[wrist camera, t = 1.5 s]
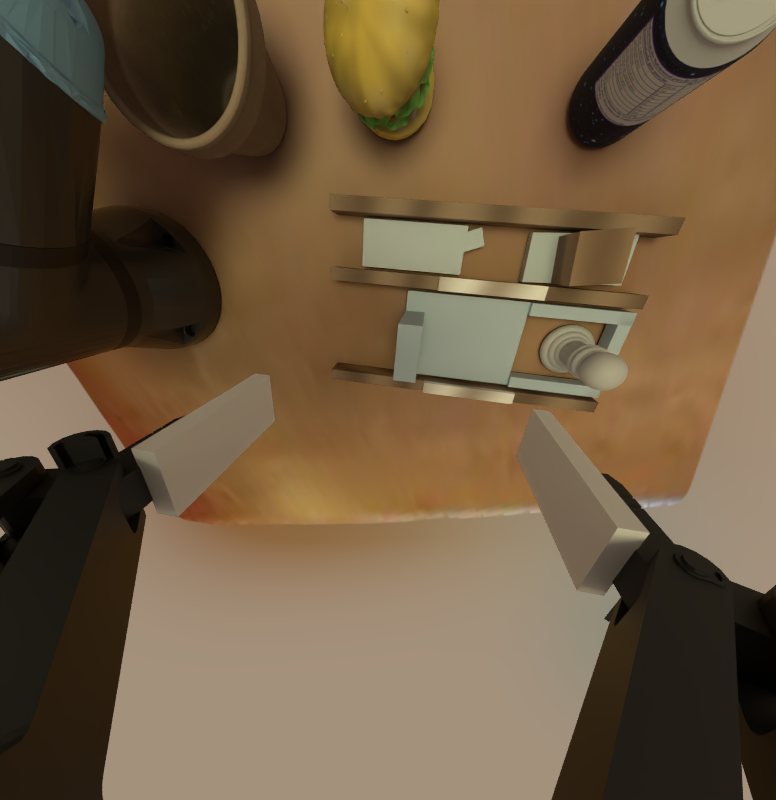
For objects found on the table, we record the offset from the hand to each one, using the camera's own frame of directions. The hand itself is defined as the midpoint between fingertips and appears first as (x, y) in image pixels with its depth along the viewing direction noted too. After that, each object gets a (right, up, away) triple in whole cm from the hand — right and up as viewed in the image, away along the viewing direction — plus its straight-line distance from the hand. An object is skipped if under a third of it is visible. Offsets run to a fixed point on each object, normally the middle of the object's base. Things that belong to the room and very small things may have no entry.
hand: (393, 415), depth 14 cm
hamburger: (0, +27, +10) cm, 28 cm away
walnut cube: (+18, +14, +12) cm, 25 cm away
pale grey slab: (+12, +7, +17) cm, 22 cm away
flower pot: (-13, +27, +11) cm, 32 cm away
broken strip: (+10, +15, +14) cm, 23 cm away
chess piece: (+19, +7, +17) cm, 26 cm away
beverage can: (+17, +24, +8) cm, 31 cm away
